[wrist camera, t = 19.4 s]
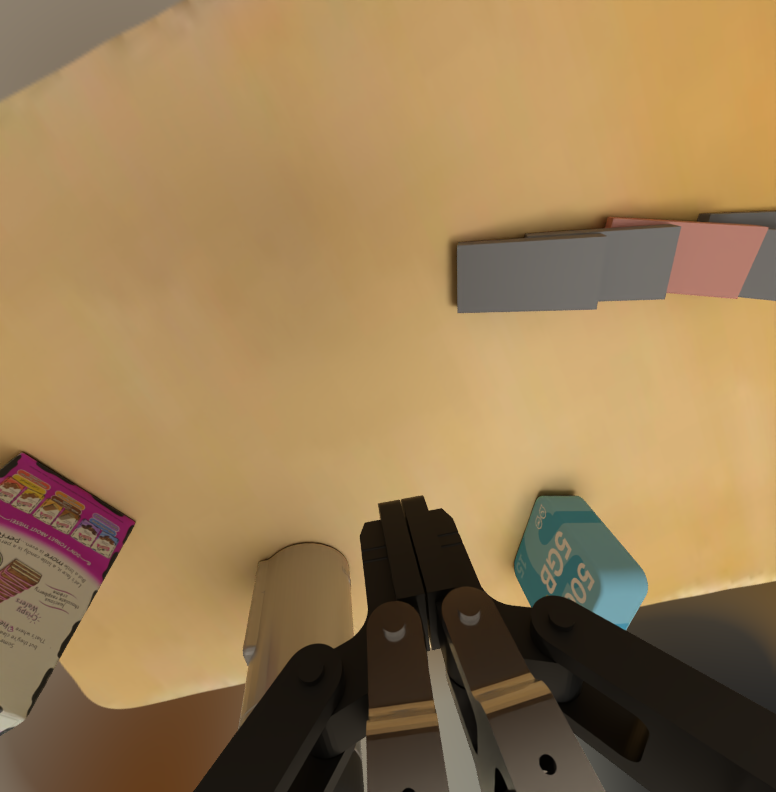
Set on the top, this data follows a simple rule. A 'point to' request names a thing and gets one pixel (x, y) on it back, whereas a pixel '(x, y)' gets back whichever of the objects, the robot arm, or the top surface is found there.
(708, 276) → the domino
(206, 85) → the top surface
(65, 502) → the candy bar box
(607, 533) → the data package
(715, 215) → the domino
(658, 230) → the domino
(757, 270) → the domino
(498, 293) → the domino
